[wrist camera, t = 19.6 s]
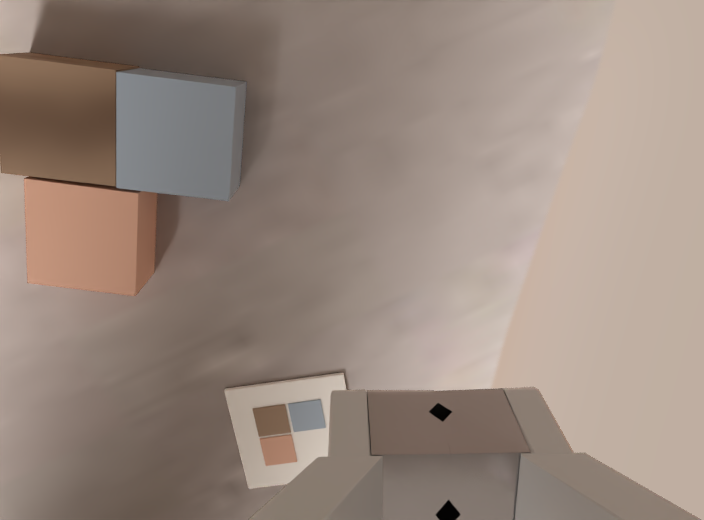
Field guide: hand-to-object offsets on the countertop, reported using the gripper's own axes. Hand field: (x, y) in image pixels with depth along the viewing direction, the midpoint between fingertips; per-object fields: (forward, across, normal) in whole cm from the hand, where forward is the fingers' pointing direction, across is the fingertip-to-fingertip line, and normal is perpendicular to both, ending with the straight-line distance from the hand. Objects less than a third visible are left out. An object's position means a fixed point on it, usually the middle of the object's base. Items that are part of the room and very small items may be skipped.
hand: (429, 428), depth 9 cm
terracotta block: (+29, +16, +5) cm, 34 cm away
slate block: (+29, +10, 0) cm, 31 cm away
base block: (+29, +16, -1) cm, 33 cm away
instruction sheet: (+29, +5, +20) cm, 36 cm away
